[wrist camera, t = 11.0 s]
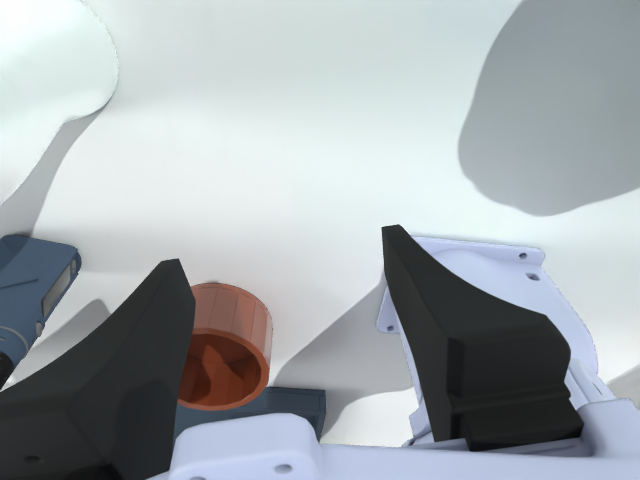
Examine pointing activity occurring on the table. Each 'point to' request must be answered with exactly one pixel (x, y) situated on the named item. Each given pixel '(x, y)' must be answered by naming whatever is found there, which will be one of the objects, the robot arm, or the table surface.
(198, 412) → the tray
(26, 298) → the vaping device
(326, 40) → the table surface
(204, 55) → the table surface
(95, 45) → the beer glass
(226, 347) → the pen cup
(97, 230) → the table surface
